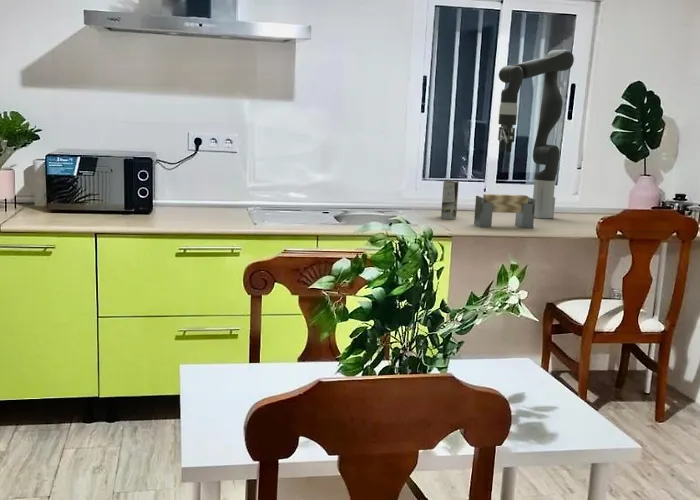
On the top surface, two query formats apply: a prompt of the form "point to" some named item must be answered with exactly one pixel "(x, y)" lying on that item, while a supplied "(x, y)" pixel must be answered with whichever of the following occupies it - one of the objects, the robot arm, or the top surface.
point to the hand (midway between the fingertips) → (505, 151)
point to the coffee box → (449, 199)
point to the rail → (506, 202)
